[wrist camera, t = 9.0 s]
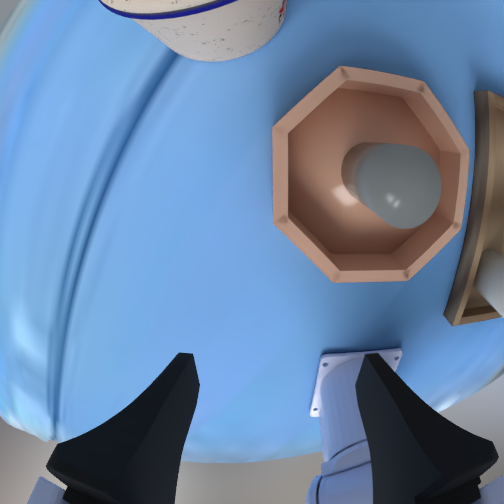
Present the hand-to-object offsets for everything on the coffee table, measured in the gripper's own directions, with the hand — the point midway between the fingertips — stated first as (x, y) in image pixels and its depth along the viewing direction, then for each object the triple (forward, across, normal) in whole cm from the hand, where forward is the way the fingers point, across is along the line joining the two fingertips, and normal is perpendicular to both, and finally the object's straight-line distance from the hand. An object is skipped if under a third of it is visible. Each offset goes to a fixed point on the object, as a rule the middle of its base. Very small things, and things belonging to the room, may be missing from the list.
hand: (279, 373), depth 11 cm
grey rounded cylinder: (+9, -6, -7) cm, 13 cm away
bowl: (+10, -6, -7) cm, 14 cm away
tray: (+10, -22, -5) cm, 25 cm away
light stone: (+9, -19, 0) cm, 21 cm away
